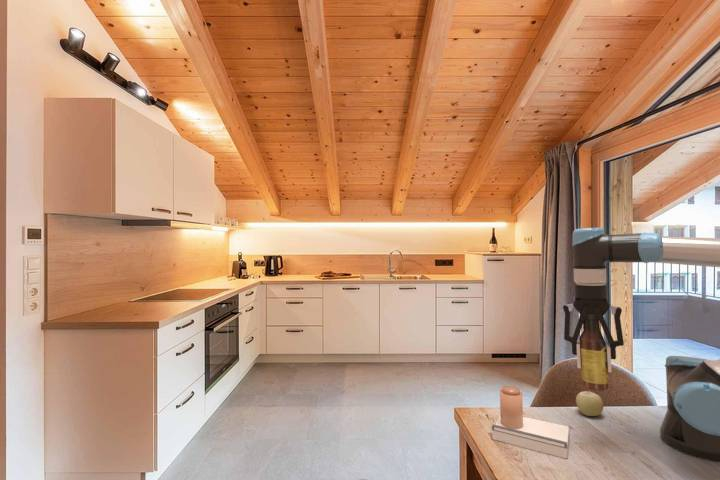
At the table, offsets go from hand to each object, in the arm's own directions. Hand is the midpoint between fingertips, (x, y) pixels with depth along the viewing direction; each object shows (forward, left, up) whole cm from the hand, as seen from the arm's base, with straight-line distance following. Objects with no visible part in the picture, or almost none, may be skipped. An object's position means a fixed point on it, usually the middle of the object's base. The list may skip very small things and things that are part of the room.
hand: (594, 368), depth 97 cm
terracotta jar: (+20, +6, -18) cm, 28 cm away
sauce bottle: (0, 0, -5) cm, 5 cm away
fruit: (+1, -19, -20) cm, 28 cm away
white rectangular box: (+15, +6, -20) cm, 26 cm away
